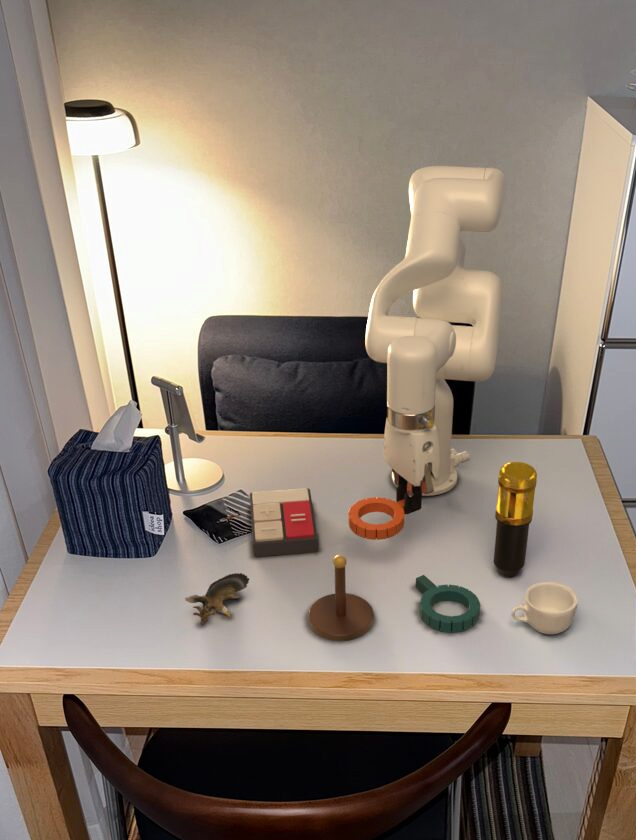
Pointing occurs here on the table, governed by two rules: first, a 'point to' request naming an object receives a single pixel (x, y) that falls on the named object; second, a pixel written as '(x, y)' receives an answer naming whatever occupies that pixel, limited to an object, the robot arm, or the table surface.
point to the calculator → (283, 522)
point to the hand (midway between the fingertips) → (408, 507)
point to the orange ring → (377, 530)
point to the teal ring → (444, 593)
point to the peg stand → (340, 610)
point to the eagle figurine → (219, 595)
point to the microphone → (513, 516)
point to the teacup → (548, 607)
